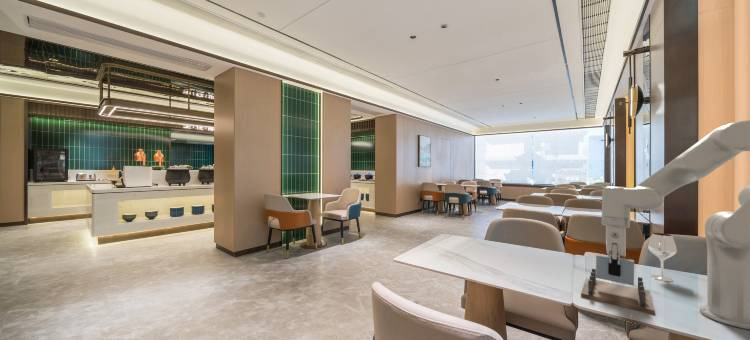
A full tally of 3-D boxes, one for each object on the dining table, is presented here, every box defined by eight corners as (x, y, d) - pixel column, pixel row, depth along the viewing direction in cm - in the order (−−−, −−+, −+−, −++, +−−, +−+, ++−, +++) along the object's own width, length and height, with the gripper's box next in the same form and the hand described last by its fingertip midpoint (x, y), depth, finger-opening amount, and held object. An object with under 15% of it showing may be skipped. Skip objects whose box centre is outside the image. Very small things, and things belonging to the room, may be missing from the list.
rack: (649, 294, 99) (649, 278, 99) (654, 314, 85) (654, 295, 85) (586, 280, 111) (586, 266, 111) (581, 296, 97) (580, 280, 97)
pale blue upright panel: (633, 283, 96) (633, 260, 96) (633, 285, 94) (634, 261, 94) (596, 275, 102) (596, 254, 102) (595, 277, 100) (596, 255, 101)
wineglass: (663, 275, 118) (663, 232, 118) (683, 282, 110) (683, 237, 110) (642, 274, 119) (642, 232, 119) (660, 282, 110) (660, 236, 111)
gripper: (630, 226, 90) (629, 283, 90) (629, 220, 102) (628, 270, 102) (600, 223, 95) (599, 277, 95) (602, 217, 107) (601, 265, 107)
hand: (614, 273), depth 98 cm, fingers closed on pale blue upright panel, 2 cm apart
